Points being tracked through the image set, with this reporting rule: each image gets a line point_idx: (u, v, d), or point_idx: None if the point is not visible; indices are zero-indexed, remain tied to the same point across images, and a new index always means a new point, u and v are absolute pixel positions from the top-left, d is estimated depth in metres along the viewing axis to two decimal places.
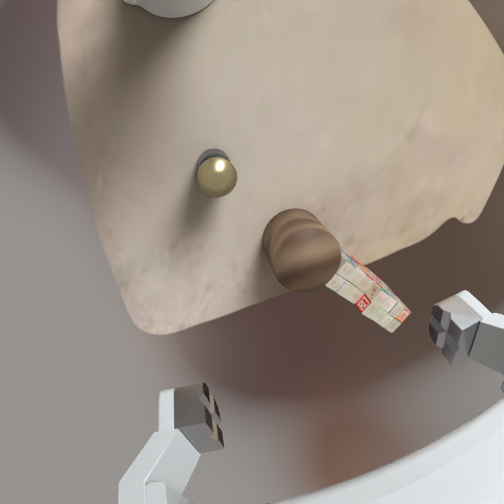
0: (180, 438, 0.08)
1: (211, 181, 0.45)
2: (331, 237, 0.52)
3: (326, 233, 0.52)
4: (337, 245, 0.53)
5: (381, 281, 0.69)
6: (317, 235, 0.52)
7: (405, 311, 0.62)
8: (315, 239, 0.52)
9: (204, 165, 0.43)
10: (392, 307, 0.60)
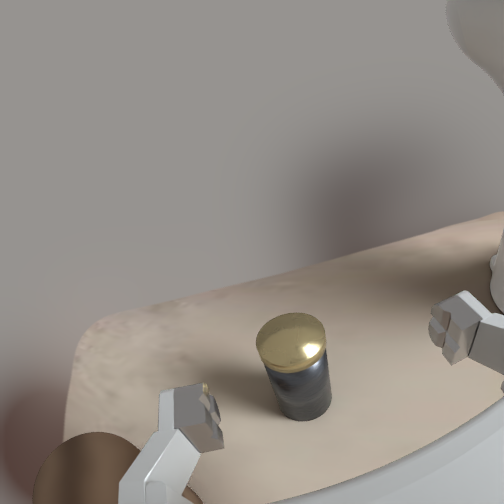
0: (180, 438, 0.08)
1: (284, 330, 0.26)
2: None
3: None
4: None
5: None
6: None
7: None
8: None
9: (311, 318, 0.27)
10: None
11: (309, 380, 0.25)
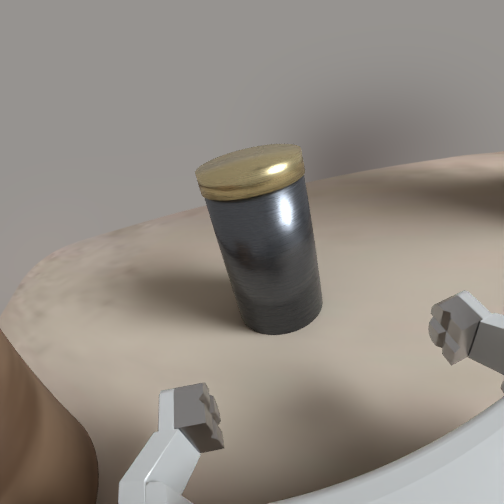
0: (180, 438, 0.08)
1: (240, 156, 0.17)
2: None
3: None
4: None
5: None
6: None
7: None
8: None
9: (283, 145, 0.18)
10: None
11: (277, 225, 0.16)
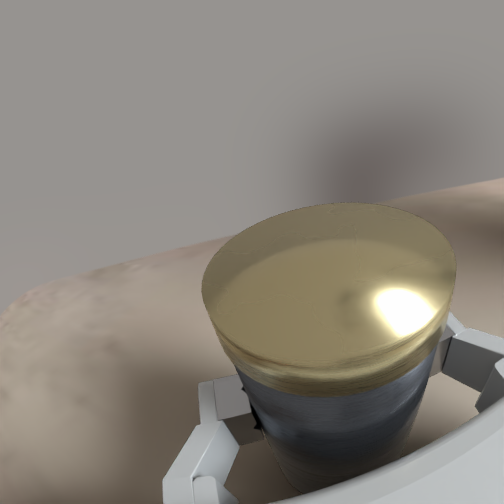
0: (223, 430, 0.08)
1: (305, 240, 0.08)
2: None
3: None
4: None
5: None
6: None
7: None
8: None
9: (387, 210, 0.08)
10: None
11: (390, 417, 0.06)
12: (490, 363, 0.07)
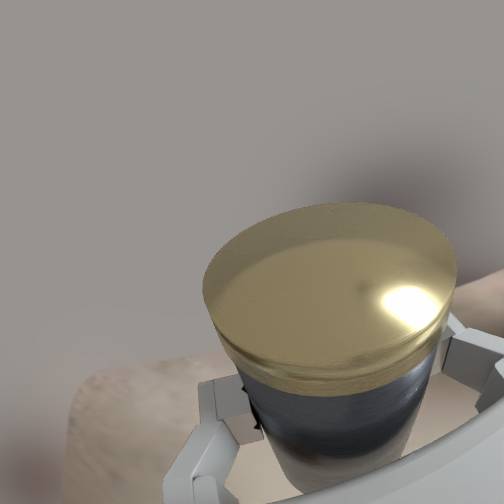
0: (224, 430, 0.08)
1: (305, 240, 0.08)
2: None
3: None
4: None
5: None
6: None
7: None
8: None
9: (388, 210, 0.08)
10: None
11: (391, 417, 0.06)
12: (490, 363, 0.07)
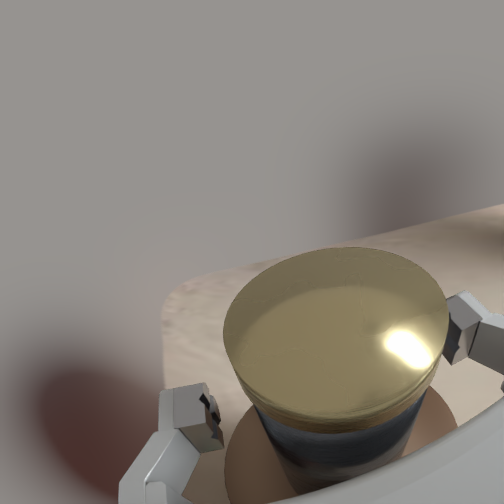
0: (180, 438, 0.08)
1: (315, 290, 0.08)
2: None
3: None
4: None
5: None
6: None
7: None
8: None
9: (390, 257, 0.09)
10: None
11: (386, 444, 0.07)
12: None
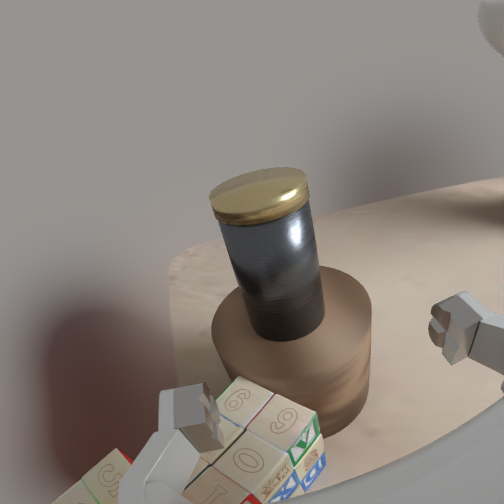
0: (180, 438, 0.08)
1: (250, 181, 0.19)
2: (357, 336, 0.19)
3: (365, 324, 0.20)
4: (336, 355, 0.19)
5: None
6: (357, 309, 0.22)
7: None
8: (347, 308, 0.22)
9: (288, 169, 0.19)
10: None
11: (285, 246, 0.17)
12: None
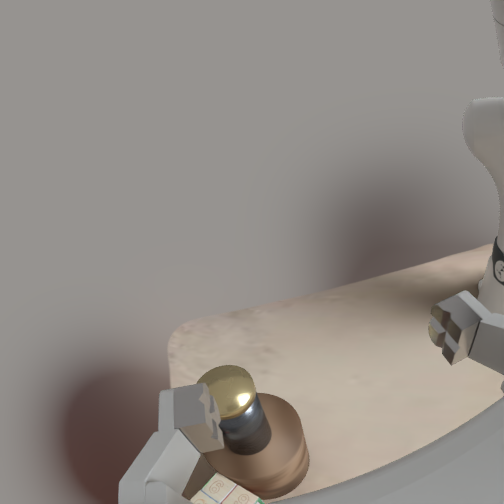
0: (180, 438, 0.08)
1: (219, 381, 0.28)
2: (287, 458, 0.29)
3: (294, 450, 0.29)
4: (272, 469, 0.28)
5: None
6: (292, 438, 0.31)
7: None
8: (285, 436, 0.31)
9: (244, 372, 0.29)
10: None
11: (239, 425, 0.27)
12: None
